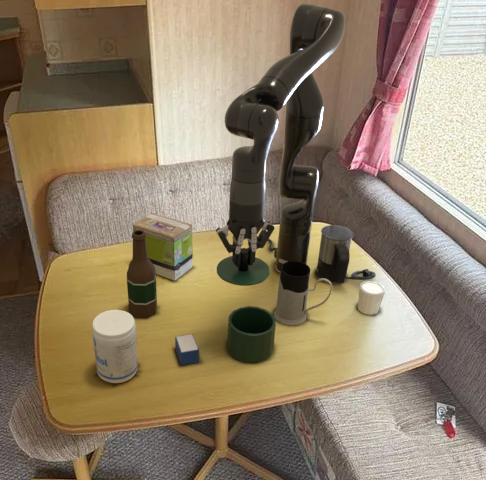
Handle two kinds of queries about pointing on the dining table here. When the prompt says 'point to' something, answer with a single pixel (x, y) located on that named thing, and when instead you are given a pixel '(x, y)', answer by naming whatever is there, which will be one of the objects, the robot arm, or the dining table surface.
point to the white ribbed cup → (370, 297)
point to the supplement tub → (115, 346)
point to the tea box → (167, 244)
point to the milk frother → (337, 255)
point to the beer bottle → (141, 279)
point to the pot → (251, 334)
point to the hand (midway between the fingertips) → (243, 264)
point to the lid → (243, 270)
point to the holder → (294, 293)
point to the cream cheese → (187, 349)
